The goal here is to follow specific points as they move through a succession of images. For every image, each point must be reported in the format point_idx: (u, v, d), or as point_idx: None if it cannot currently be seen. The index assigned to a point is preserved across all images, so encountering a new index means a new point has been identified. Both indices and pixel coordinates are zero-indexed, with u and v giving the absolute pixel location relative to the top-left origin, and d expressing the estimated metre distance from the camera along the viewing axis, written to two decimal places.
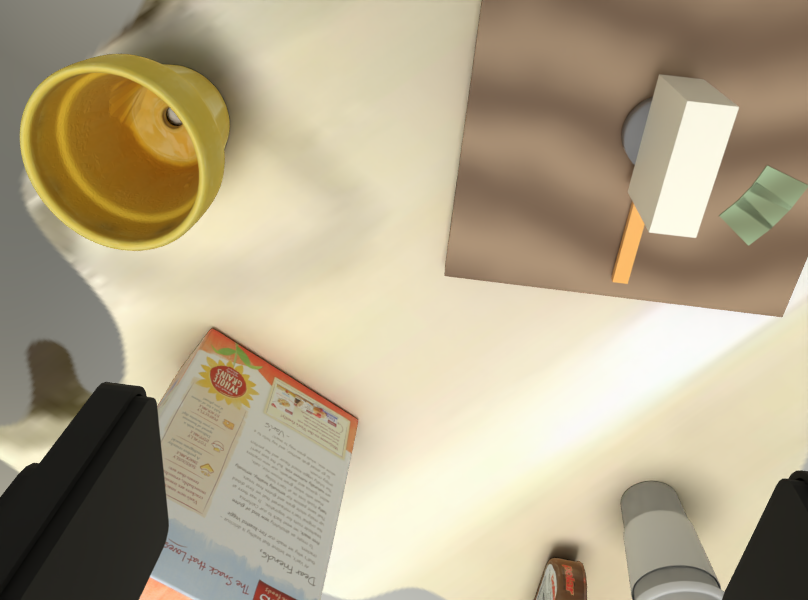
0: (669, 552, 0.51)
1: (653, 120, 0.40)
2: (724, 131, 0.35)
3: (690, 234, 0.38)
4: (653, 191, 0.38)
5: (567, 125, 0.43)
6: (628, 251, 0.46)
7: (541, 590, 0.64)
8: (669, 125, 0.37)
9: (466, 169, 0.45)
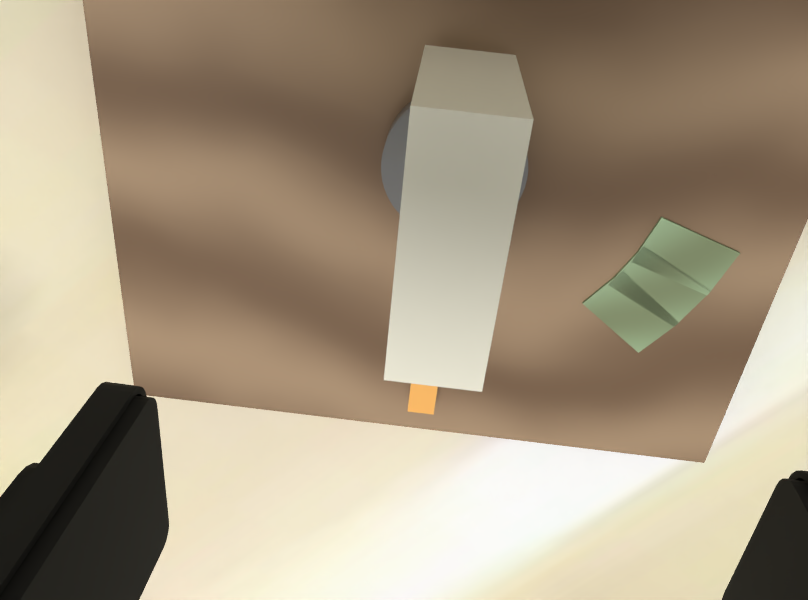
0: None
1: None
2: (508, 176, 0.15)
3: (469, 385, 0.18)
4: None
5: (286, 145, 0.23)
6: None
7: None
8: None
9: (125, 222, 0.25)
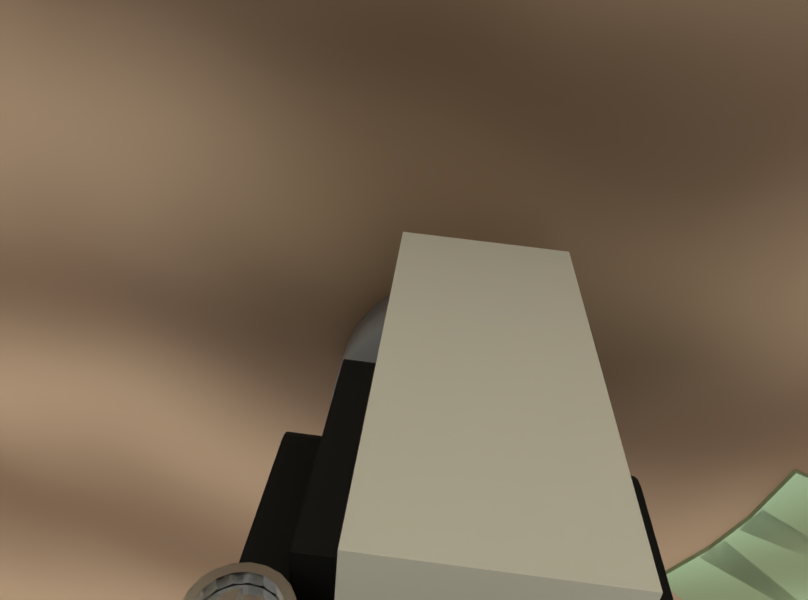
0: None
1: None
2: None
3: None
4: None
5: (182, 353, 0.14)
6: None
7: None
8: None
9: None
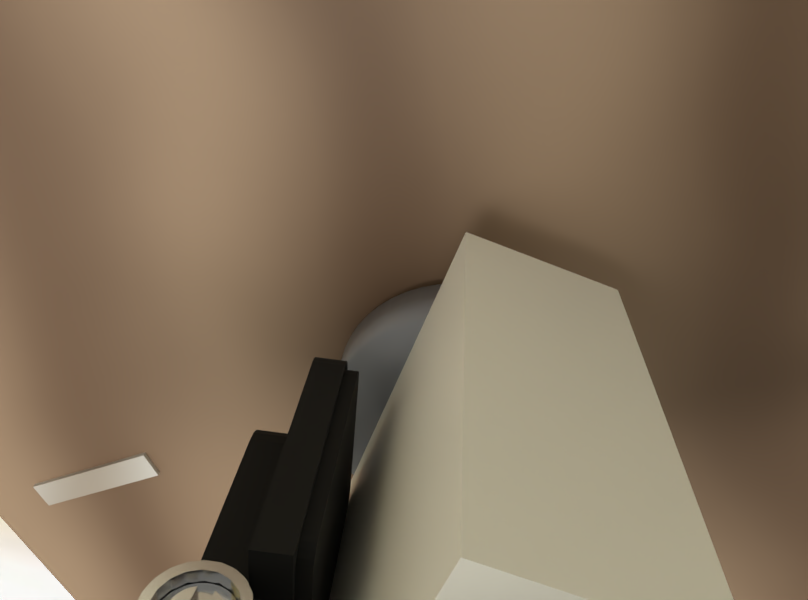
0: None
1: (405, 399, 0.10)
2: None
3: None
4: None
5: (319, 123, 0.11)
6: None
7: None
8: (402, 528, 0.08)
9: None
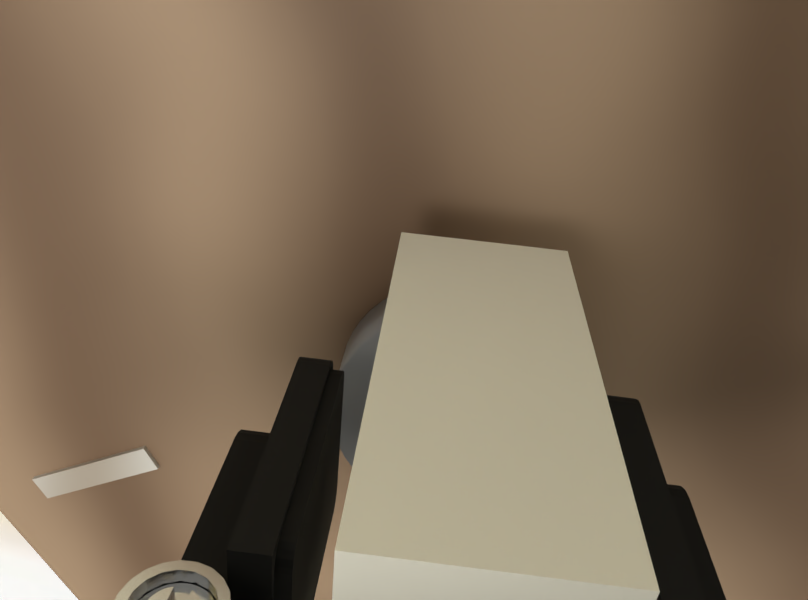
0: None
1: None
2: None
3: None
4: None
5: (324, 117, 0.11)
6: None
7: None
8: None
9: None
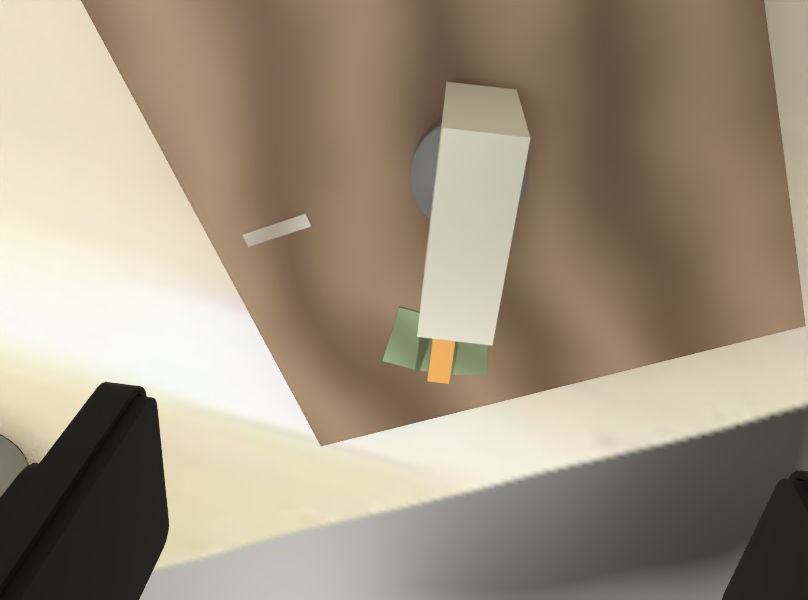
0: None
1: None
2: (512, 178, 0.21)
3: (482, 340, 0.23)
4: None
5: (413, 34, 0.26)
6: (443, 339, 0.31)
7: None
8: None
9: None
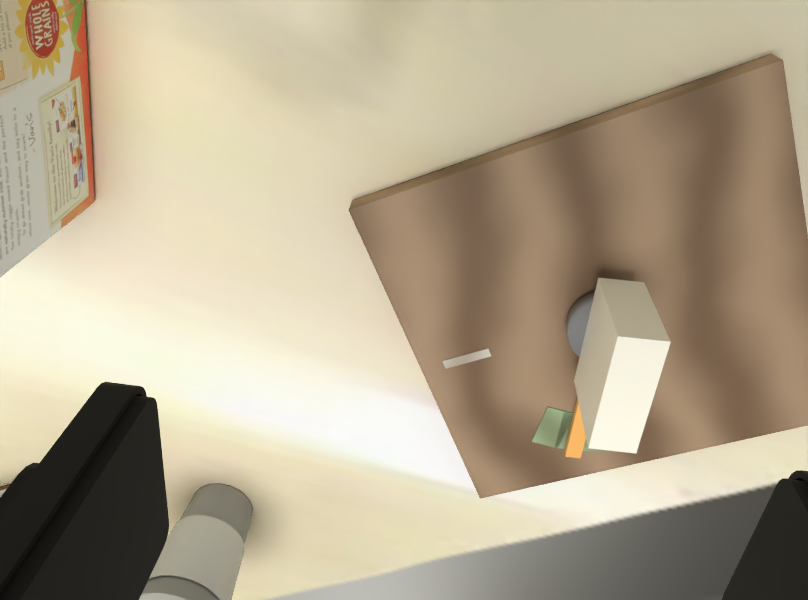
0: (215, 574, 0.47)
1: (593, 325, 0.39)
2: (658, 362, 0.34)
3: (630, 450, 0.37)
4: (592, 406, 0.37)
5: (573, 243, 0.40)
6: (579, 430, 0.45)
7: None
8: (604, 346, 0.36)
9: (482, 172, 0.38)
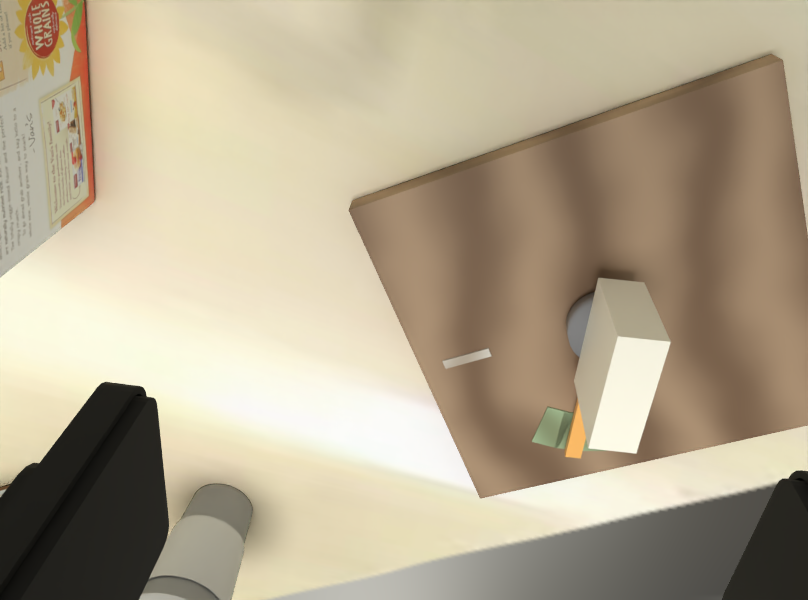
0: (215, 574, 0.47)
1: (593, 325, 0.39)
2: (658, 363, 0.34)
3: (630, 450, 0.37)
4: (592, 406, 0.37)
5: (573, 243, 0.40)
6: (579, 430, 0.45)
7: None
8: (604, 346, 0.36)
9: (482, 172, 0.38)
